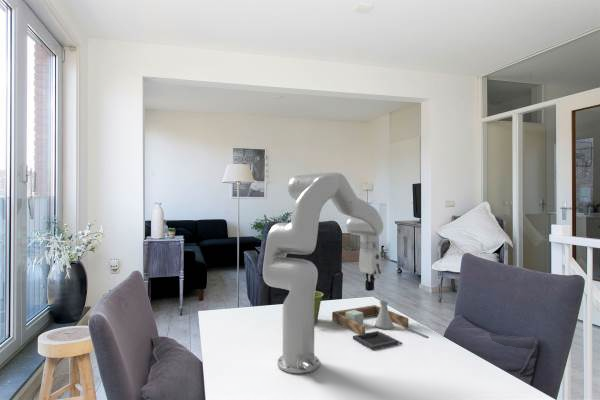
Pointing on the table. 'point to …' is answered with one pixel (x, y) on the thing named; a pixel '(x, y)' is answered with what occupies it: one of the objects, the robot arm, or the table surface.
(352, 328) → the wooden u-shaped frame
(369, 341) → the frame
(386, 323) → the flask
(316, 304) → the plant pot
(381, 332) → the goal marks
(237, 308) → the table surface
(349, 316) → the grey green block
